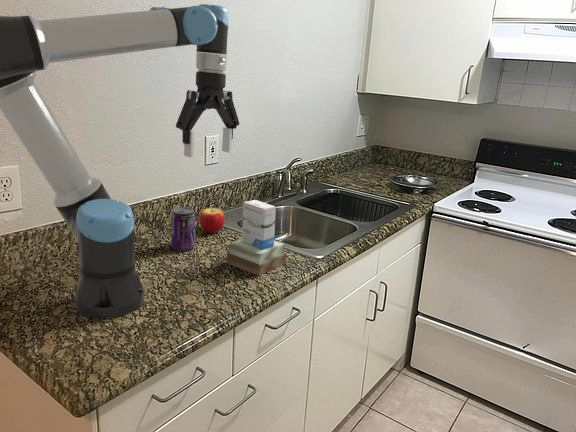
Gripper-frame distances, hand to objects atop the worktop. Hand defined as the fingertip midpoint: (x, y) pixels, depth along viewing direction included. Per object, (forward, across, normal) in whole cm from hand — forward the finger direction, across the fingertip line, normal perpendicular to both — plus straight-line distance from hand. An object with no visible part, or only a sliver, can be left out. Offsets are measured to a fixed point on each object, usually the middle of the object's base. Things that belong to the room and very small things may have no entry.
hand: (208, 154), depth 129 cm
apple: (+31, +18, +16) cm, 39 cm away
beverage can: (+31, +2, +11) cm, 33 cm away
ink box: (+25, +9, -12) cm, 29 cm away
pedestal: (+30, +9, -12) cm, 34 cm away
